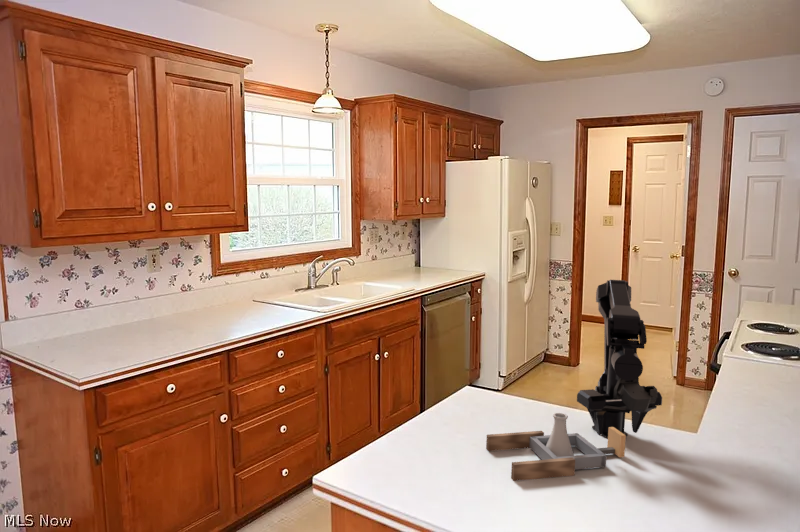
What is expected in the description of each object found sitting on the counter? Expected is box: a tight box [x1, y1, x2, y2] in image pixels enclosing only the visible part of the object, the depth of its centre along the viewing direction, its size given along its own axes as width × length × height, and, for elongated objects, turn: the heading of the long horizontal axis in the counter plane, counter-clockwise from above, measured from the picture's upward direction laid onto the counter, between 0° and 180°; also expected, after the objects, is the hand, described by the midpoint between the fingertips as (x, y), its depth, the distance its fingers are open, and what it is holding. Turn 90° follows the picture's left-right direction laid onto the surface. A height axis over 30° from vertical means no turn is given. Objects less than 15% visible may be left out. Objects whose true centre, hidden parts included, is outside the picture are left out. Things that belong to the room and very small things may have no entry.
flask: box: [546, 412, 575, 457], centre depth 132 cm, size 7×7×10 cm
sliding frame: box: [529, 427, 627, 471], centre depth 133 cm, size 19×12×5 cm, turn 103°
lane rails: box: [485, 430, 576, 482], centre depth 130 cm, size 14×16×4 cm
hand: (617, 433), depth 134 cm, fingers open, 9 cm apart
